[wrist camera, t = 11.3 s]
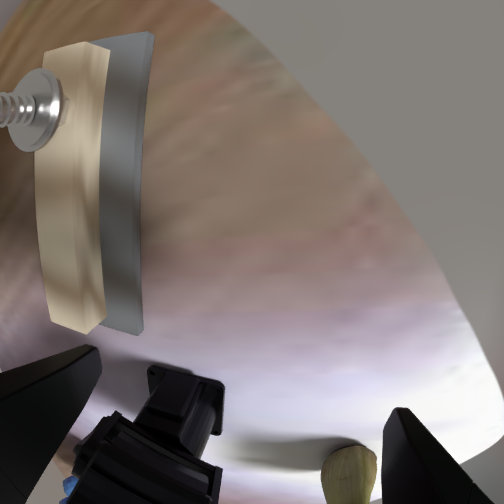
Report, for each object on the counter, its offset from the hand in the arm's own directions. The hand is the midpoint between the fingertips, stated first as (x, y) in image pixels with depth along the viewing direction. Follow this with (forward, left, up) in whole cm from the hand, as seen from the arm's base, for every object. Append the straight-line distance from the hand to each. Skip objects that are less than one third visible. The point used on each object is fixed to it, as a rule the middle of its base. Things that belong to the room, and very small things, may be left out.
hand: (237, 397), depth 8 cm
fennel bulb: (-18, -9, -12) cm, 24 cm away
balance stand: (+3, +14, -12) cm, 19 cm away
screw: (+8, +14, -8) cm, 18 cm away
